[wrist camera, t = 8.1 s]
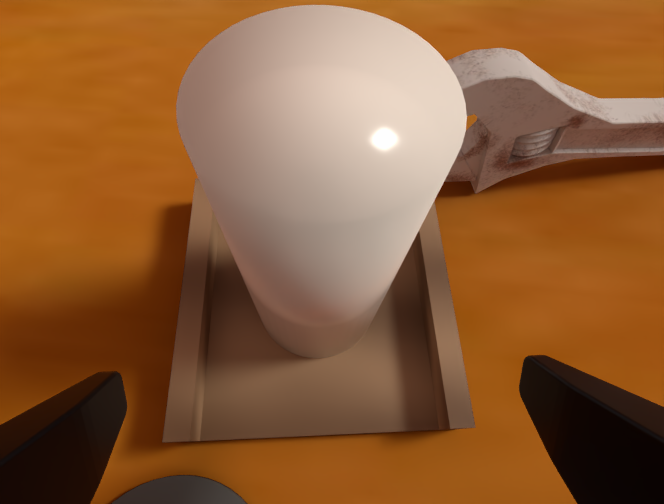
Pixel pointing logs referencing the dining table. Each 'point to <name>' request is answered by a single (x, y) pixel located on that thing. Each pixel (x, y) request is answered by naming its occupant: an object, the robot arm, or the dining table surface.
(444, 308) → the bay
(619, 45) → the dining table surface
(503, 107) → the wrench
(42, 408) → the robot arm
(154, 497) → the coaster
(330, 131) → the white rounded tapered post
